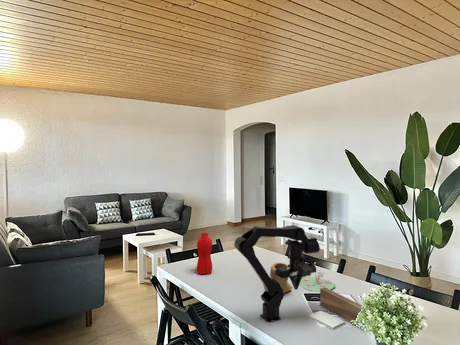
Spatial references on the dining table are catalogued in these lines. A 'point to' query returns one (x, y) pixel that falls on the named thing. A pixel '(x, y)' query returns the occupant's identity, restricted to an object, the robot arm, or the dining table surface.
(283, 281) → the stone cup
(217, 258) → the dining table surface
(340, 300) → the walnut board
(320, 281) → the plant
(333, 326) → the hard drive
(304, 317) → the dining table surface
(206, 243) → the water bottle
